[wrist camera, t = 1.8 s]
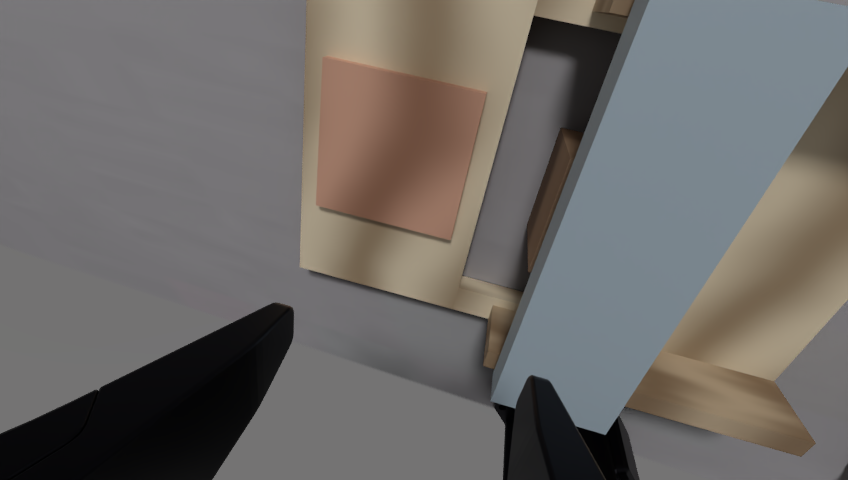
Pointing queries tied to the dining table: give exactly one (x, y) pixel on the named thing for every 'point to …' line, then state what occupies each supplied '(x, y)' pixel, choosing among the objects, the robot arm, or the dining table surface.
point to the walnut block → (551, 190)
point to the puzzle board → (467, 180)
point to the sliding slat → (665, 187)
